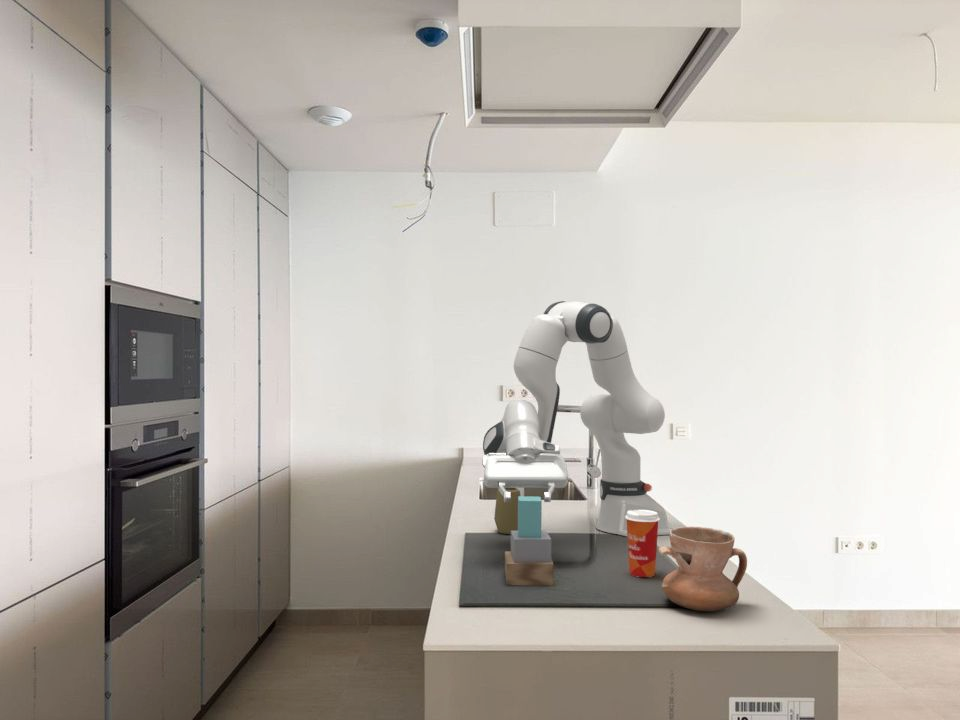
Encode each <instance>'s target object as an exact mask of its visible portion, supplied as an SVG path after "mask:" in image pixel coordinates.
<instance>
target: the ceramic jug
mask: <svg viewBox="0 0 960 720" xmlns="http://www.w3.org/2000/svg"><path fill="white" fill-rule="evenodd" d="M669 541H670V546H671V547H670V546H669V547H668V546H661V547H660V548H658V553H659V555H660V556H667V555H668V556H670V557H672V558H673V559H675V561H676V564H677V566H678V568H676V569H675V570H673V571H671V572H670V573H668V574H666V575H665V577H664V578H663V580H662V583H661V590H662V592H663V594H664V596H665V597H666V598H667V599H668V600H669V601H671V602H672V603H673V604H675V605H677V606H680V607H682V608H686V609H688V610H693V611H698V612H718V611H719V612H720V611H723V610H727V609H729V608H731V607H733V606H735V605H736V604H737V602H738V600H739V597H740V592H739V591H740V590H739V589H738V587H739V585H740V583H741V582H742V580H743V578H744V576H745V573H746V570H747V568H748V557H747V555H746V553H745V552H744V550H742V549H740V548H737V547H734V545H735V536H734V534H732V533H730V532H727V531H724V530H722V529H718V528H712V527H703V526H691V525H690V526H681V527H680V526H679V527H675V528H674V529H671V530H670V534H669ZM734 556H738V567H737V570H736V572H735V575H734V577H733V579H730V578H729V577H727V576H726V574H724V573H723V571H724V569H725V567H726V566H727V563H728V561H729V559H731V558H732V557H734Z"/></svg>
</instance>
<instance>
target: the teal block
mask: <svg viewBox="0 0 960 720" xmlns="http://www.w3.org/2000/svg"><path fill="white" fill-rule="evenodd" d="M542 504H543V503H542V498H541V496H532V495H531V496H525V495H524V496H518V537H530V538H541V530H542V515H543V514H542V509H543V508H542V507H543V506H542Z"/></svg>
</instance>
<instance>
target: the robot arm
mask: <svg viewBox="0 0 960 720" xmlns="http://www.w3.org/2000/svg"><path fill="white" fill-rule="evenodd" d="M567 342H572V343H585V345H586V348H587V355H588V360H589V364H590V368H591V372H592V377H593V381H594V382H595V383H596V385H597V386H599V387H600V388H602V389H603V390H605V391H606V392H608V393H609V394H602V393H601V394H598V395H597V394H596V395H591V396H588V397H586V398H585V399H584V400H583V402H582V404H581V407H580V409H579V410H580V413H579V416H580V419H581V422H582V424H583V425H584V426H585V427H586V428H587V429H588V430H589V432H591V433H592V436H594V438H595V440H596V442H597V444H598V448H599V452H600V458H601V459H600V460H601V478H600V482H599V483H600V484H599V498H600V504H599V505H600V506H599V513H598V517H597V518H598V519H597V522H596V525H595V528H596V529H597V530H599V531H601V532H606V533H609V534H615V535H616V534H617V535H619V536H624V537H627V519H626V518H625V516H626V515H627V512H628V511H629V510H631V511H632V510H650V511H654V512H657V513H658V517H659V518H660V520H659V521H658V534H657V536H662V535H663V536H666V535H670V530H671V529H674V528H676V527H675V526H674V525H673V524H672V523H670V522H669V519H668V515H667V512H666V509H665V508H664V507H663V506H662V505H661V504H660V503H658V502H657V501H656V500H655V499H654V498H652V497H651V496H650V495H649V494H647V493H648V492H651V491H652V489H653V487H652V484H650V483H646V482H645V481H643V480H641V455H640V453H639V451H638V450H637V449H636V448H635V447H633V446H632V445H630V444H629V443H628V441H627V439H626V437H625V434H634V435H636V434H637V435H643V434H651V433H656V432H658V431H659V430H660V429H661V428H662V426H663V425H664V422H665V417H666V415H665V408H664V406H663V404H662V403H661V402H660V400H659V399H658V398H656V397H654V396H653V395H651V394H650V393H649V392H648V391H647V390H646V389H644V387H643V386H642V385H641V383H640V382H639V381H638V379H637V377H636V375H635V373H634V371H633V367H632V363H631V358H630V354H629V350H628V346H627V341H626V338H625V336H624V331H623V330H622V326H621V324H620V323H619V320H618V319H617V318H616V317H615V316H613V315H611V314H610V312H609V311H608V310H607V308H605V307H603V306H602V305H599V304H597V303H589V302H585V301H577V300H576V301H564V300H563V301H562V300H561V301H556V302H553V303H552V304H550V305H549V306H548V307H547V308H546V309H545V311H544V312H543V314H538V315H536V316H534V318H533V319H532V320H531V321H530V323H529V325H528V327H527V329H526V330H525V333H524V335H523V337H522V339H521V341H520V344H519V347H518V348H517V352H516V354H515V357H514V361H513V370H514V374H515V376H516V378H517V381H519V383H521V385H522V386H524V387H525V389H526V390H527V391H528V392H530V394H531V395H532V396H533V397H534V398H535V401H536V403H537V406H538V407H537V409H538V410H537V409H536V406H535V405H534V404H533V403H532V402H530V401H527V400H525V399H515V400H511V401H509V402H508V403H507V404H506V406H505V409H504V412H503V416H502V418H501V419H500V421H499V422H498V423H496V424H495V425H493V426H491V427H490V428H489V429H488V430H487V431H486V433H485V434H484V437H483V440H482V442H483V443H482V448H483V449H482V450H483V454H484V456H482V460H481V461H482V462H481V464H482V467H483V468H484V470H483V472H484V473H483V474H484V475H483V485H484V486H485V487H486V488H489V489H491V488H493V489H494V488H496V489H498V490H499V492H500V493H501V494H502V495H503V496H504V502H510V499H511V498H510V492H507V491H506V490H505V488H524V489H532V488H533V489H536V488H537V489H539V488H541V489H547V491H545V492H544V493H543V502H544V503H551V502H552V501H551V500H552V494H553V493H554V491H555V488H556V489H564V488H566V487H567V485H568V484H569V472H568V471H569V470H568V467H567V464H566V460H565V458H564V457H563V456H562V455H561V447H560V445H558V444H555V443H552V439H553V434H554V430H555V424H556V419H557V414H558V408H559V401H560V394H561V393H560V392H561V388H560V385H559V384H558V382H557V379H556V378H557V377H556V370H557V365H558V362H559V359H560V355H561V352H562V349H563V347H564V345H566V343H567Z"/></svg>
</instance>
